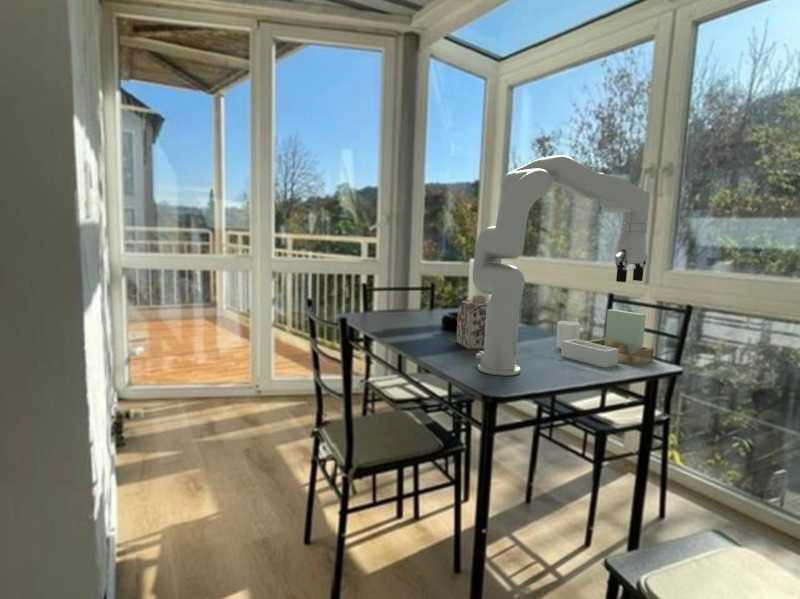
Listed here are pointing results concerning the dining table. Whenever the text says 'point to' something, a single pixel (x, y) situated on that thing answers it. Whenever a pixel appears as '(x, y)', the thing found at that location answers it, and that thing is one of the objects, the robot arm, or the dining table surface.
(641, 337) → the tall sheet
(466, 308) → the decorative jar
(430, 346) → the dining table surface
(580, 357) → the holder
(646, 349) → the rack
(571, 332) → the white cup
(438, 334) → the dining table surface
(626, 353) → the offcut long
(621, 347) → the offcut short
